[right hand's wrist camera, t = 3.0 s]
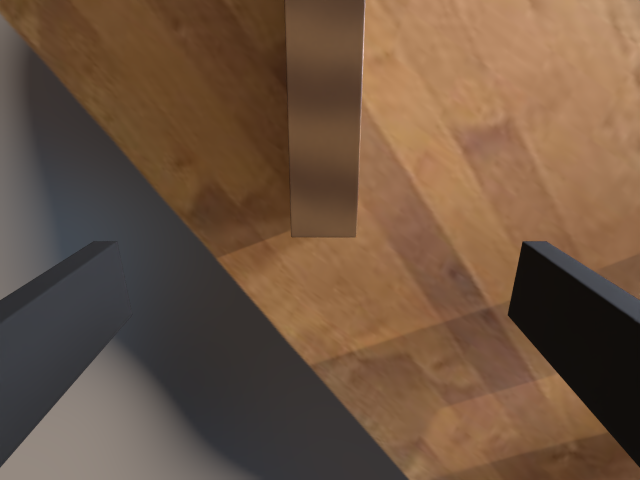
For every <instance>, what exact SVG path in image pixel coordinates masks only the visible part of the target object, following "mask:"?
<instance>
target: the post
mask: <svg viewBox="0 0 640 480" xmlns="http://www.w3.org/2000/svg"><path fill="white" fill-rule="evenodd" d="M284 2H285V37H286V72H287V107H288V141H289V176H290V211H291V237H357V215H358V188H359V160H360V133H361V106H362V78H363V51H364V24H365V0H284Z"/></svg>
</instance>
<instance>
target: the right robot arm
mask: <svg viewBox="0 0 640 480" xmlns="http://www.w3.org/2000/svg"><path fill="white" fill-rule="evenodd" d="M131 316H132V311H131V306H130V301H129V296H128V291H127V287H126V282H125V277H124V272H123V267H122V262H121V257H120V252H119V248H118V243H117V241H94V242H92V243H90V244H89V245H87V246H86V247H84V248H82V249H81V250H79V251H78V252H76V253H75V254H73V255H71V256H70V257H68V258H67V259H65V260H63V261H62V262H60V263H59V264H57V265H55V266H54V267H52V268H51V269H49V270H48V271H46V272H44V273H43V274H41V275H40V276H38V277H36V278H35V279H33V280H32V281H30V282H29V283H27V284H25V285H24V286H22V287H21V288H19V289H18V290H16V291H14V292H13V293H11V294H10V295H8V296H6V297H5V298H3V299H2V300H0V467H1V466H2V465H3V464H4V463H5V461H6V460H7V459H8V458H9V457H10V456H11V455H12V453H13V452H14V451H15V450H16V449H17V448H18V446H19V445H20V444H21V443H22V442H23V441H24V440H25V438H26V437H27V436H28V435H29V434H30V433H31V431H32V430H33V429H34V428H35V427H36V426H37V425H38V423H39V422H40V421H41V420H42V419H43V418H44V416H45V415H46V414H47V413H48V412H49V411H50V410H51V408H52V407H53V406H54V405H55V404H56V403H57V401H58V400H59V399H60V398H61V397H62V396H63V395H64V393H65V392H66V391H67V390H68V389H69V388H70V386H71V385H72V384H73V383H74V382H75V381H76V380H77V378H78V377H79V376H80V375H81V374H82V373H83V371H84V370H85V369H86V368H87V367H88V366H89V364H90V363H91V362H92V361H93V360H94V359H95V358H96V356H97V355H98V354H99V353H100V352H101V351H102V349H103V348H104V347H105V346H106V345H107V344H108V343H109V341H110V340H111V339H112V338H113V337H114V336H115V334H116V333H117V332H118V331H119V330H120V329H121V328H122V326H123V325H124V324H125V323H126V322H127V321H128V319H129V318H130V317H131ZM508 316H509V317H510V318H511V319H512V321H513V322H514V323H515V324H516V325H517V326H518V328H519V329H520V330H521V331H522V332H523V333H524V334H525V336H526V337H527V338H528V339H529V340H530V341H531V343H532V344H533V345H534V346H535V347H536V348H537V349H538V351H539V352H540V353H541V354H542V355H543V356H544V358H545V359H546V360H547V361H548V362H549V363H550V365H551V366H552V367H553V368H554V369H555V370H556V371H557V373H558V374H559V375H560V376H561V377H562V378H563V380H564V381H565V382H566V383H567V384H568V385H569V386H570V388H571V389H572V390H573V391H574V392H575V393H576V395H577V396H578V397H579V398H580V399H581V400H582V401H583V403H584V404H585V405H586V406H587V407H588V408H589V410H590V411H591V412H592V413H593V414H594V415H595V416H596V418H597V419H598V420H599V421H600V422H601V423H602V425H603V426H604V427H605V428H606V429H607V430H608V431H609V433H610V434H611V435H612V436H613V437H614V438H615V440H616V441H617V442H618V443H619V444H620V445H621V446H622V448H623V449H624V450H625V451H626V452H627V453H628V455H629V456H630V457H631V458H632V459H633V460H634V461H635V463H636V464H637V465H638V466H639V467H640V300H638V299H637V298H635V297H634V296H632V295H630V294H629V293H627V292H626V291H624V290H623V289H621V288H619V287H618V286H616V285H615V284H613V283H611V282H610V281H608V280H607V279H605V278H604V277H602V276H600V275H599V274H597V273H596V272H594V271H592V270H591V269H589V268H588V267H586V266H585V265H583V264H581V263H580V262H578V261H577V260H575V259H573V258H572V257H570V256H569V255H567V254H566V253H564V252H562V251H561V250H559V249H558V248H556V247H554V246H553V245H551V244H550V243H548V242H547V241H523V243H522V247H521V252H520V257H519V262H518V267H517V272H516V277H515V282H514V287H513V291H512V296H511V301H510V306H509V311H508Z"/></svg>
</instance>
